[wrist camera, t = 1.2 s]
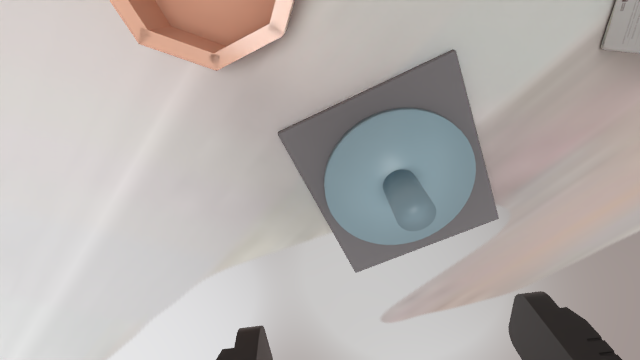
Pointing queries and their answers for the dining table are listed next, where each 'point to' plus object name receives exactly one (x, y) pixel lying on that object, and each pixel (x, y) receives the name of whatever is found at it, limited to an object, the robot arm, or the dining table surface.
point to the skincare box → (623, 27)
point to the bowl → (206, 27)
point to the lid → (399, 176)
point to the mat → (399, 92)
